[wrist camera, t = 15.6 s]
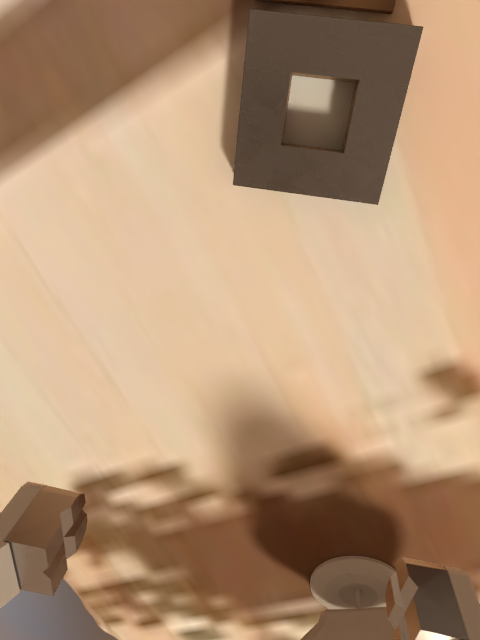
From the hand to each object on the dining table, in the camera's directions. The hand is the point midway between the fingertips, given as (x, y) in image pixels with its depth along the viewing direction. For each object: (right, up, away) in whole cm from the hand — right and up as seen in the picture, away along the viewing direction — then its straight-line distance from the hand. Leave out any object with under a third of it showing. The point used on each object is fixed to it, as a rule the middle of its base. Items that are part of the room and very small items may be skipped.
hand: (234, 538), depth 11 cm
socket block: (+6, +22, +23) cm, 33 cm away
